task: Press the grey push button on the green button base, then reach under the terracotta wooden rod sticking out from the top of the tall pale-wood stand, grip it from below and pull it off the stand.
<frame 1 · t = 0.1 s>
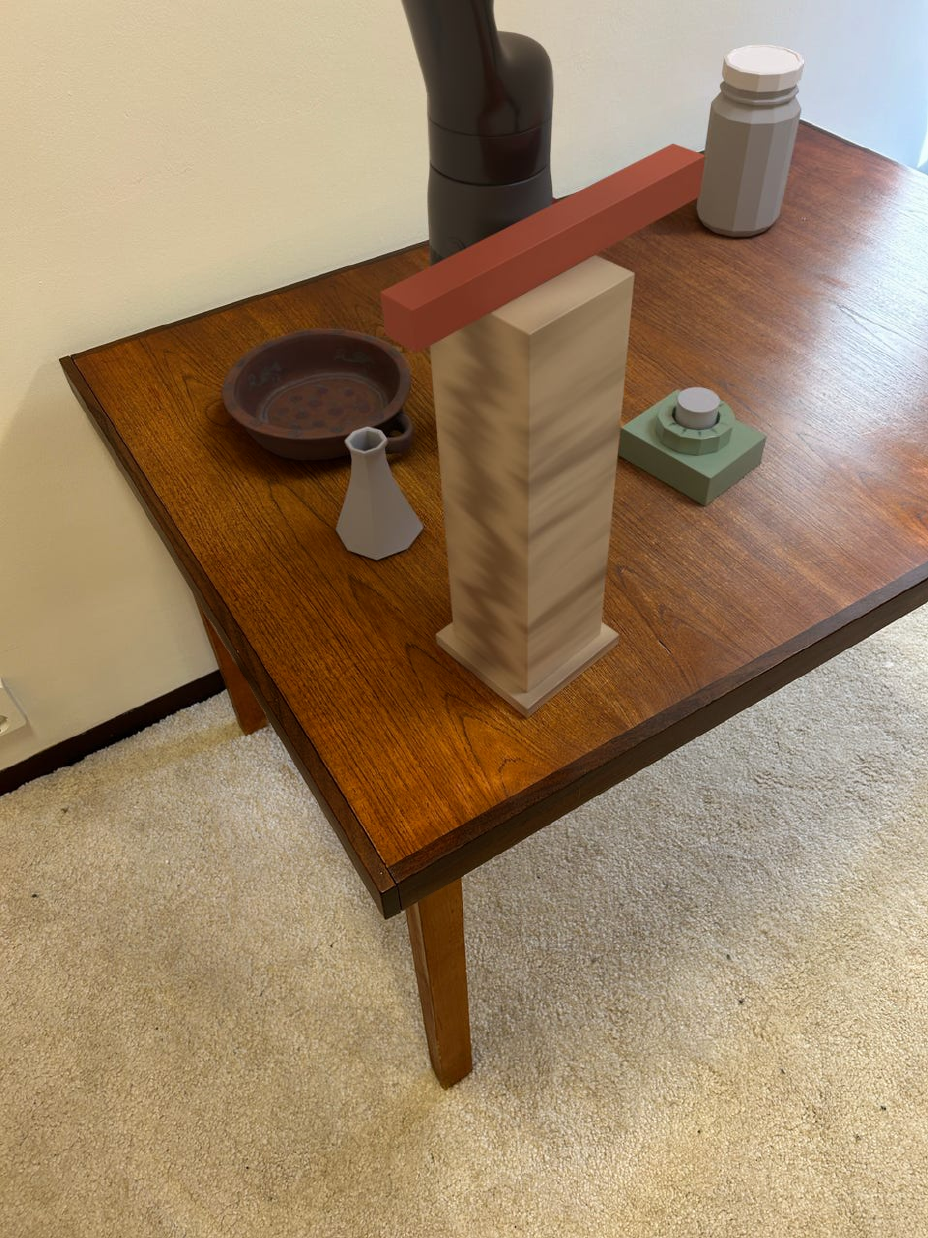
hand: (489, 437, 72), 13 cm above the table, tool pointing down, fingers open, 8 cm apart
apple: (537, 262, 113), on the table
green button base: (688, 459, 88), on the table
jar: (735, 222, 117), on the table
grey push button: (697, 408, 84), point 6 cm above the table, slide at 0.1 cm
rod: (554, 260, 52), point 31 cm above the table, touching stand
flask: (380, 532, 84), on the table
dish: (324, 422, 95), on the table
stand: (526, 644, 75), on the table
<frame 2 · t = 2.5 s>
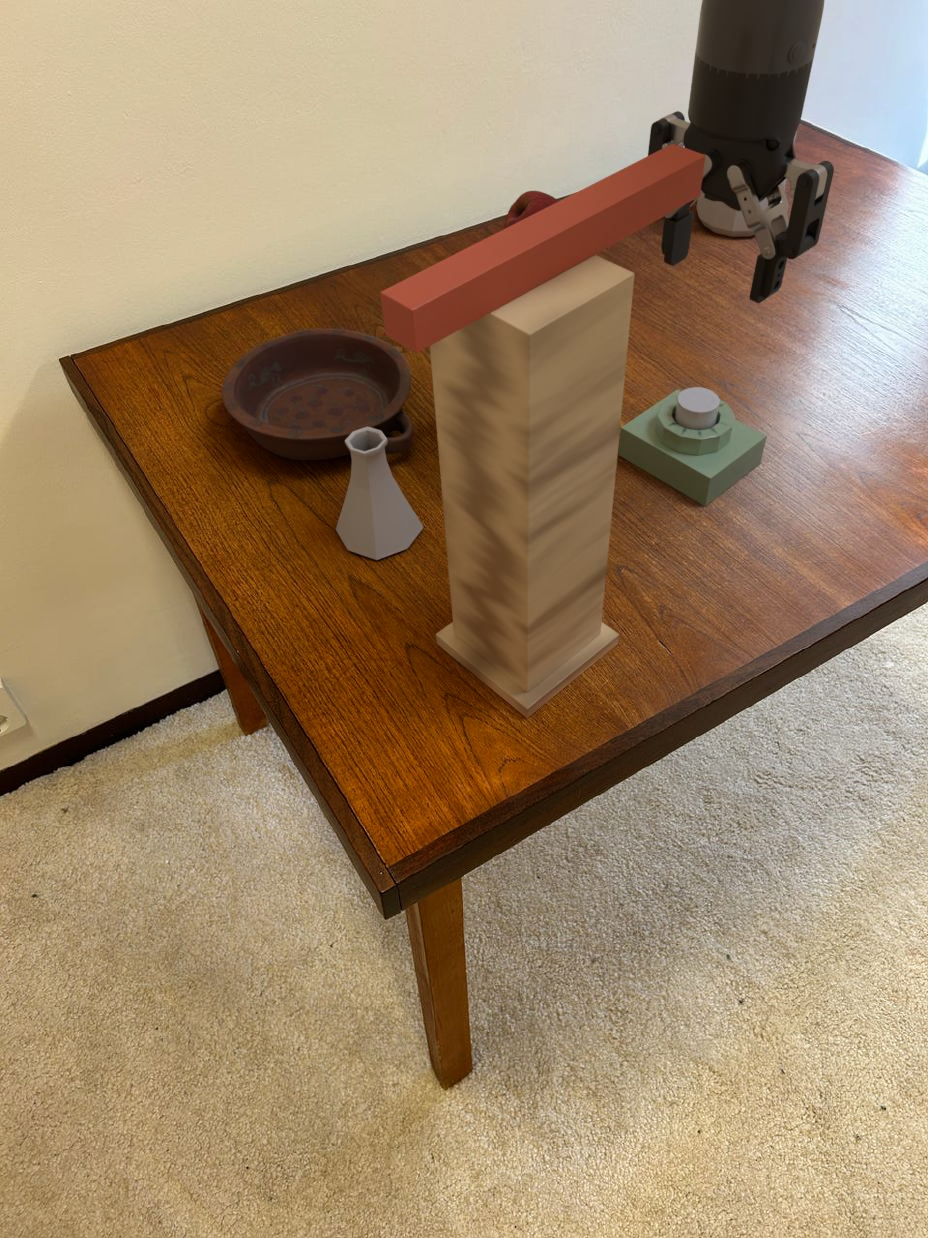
hand: (716, 278, 75), 18 cm above the table, tool pointing down, fingers open, 7 cm apart
nothing on the table moved.
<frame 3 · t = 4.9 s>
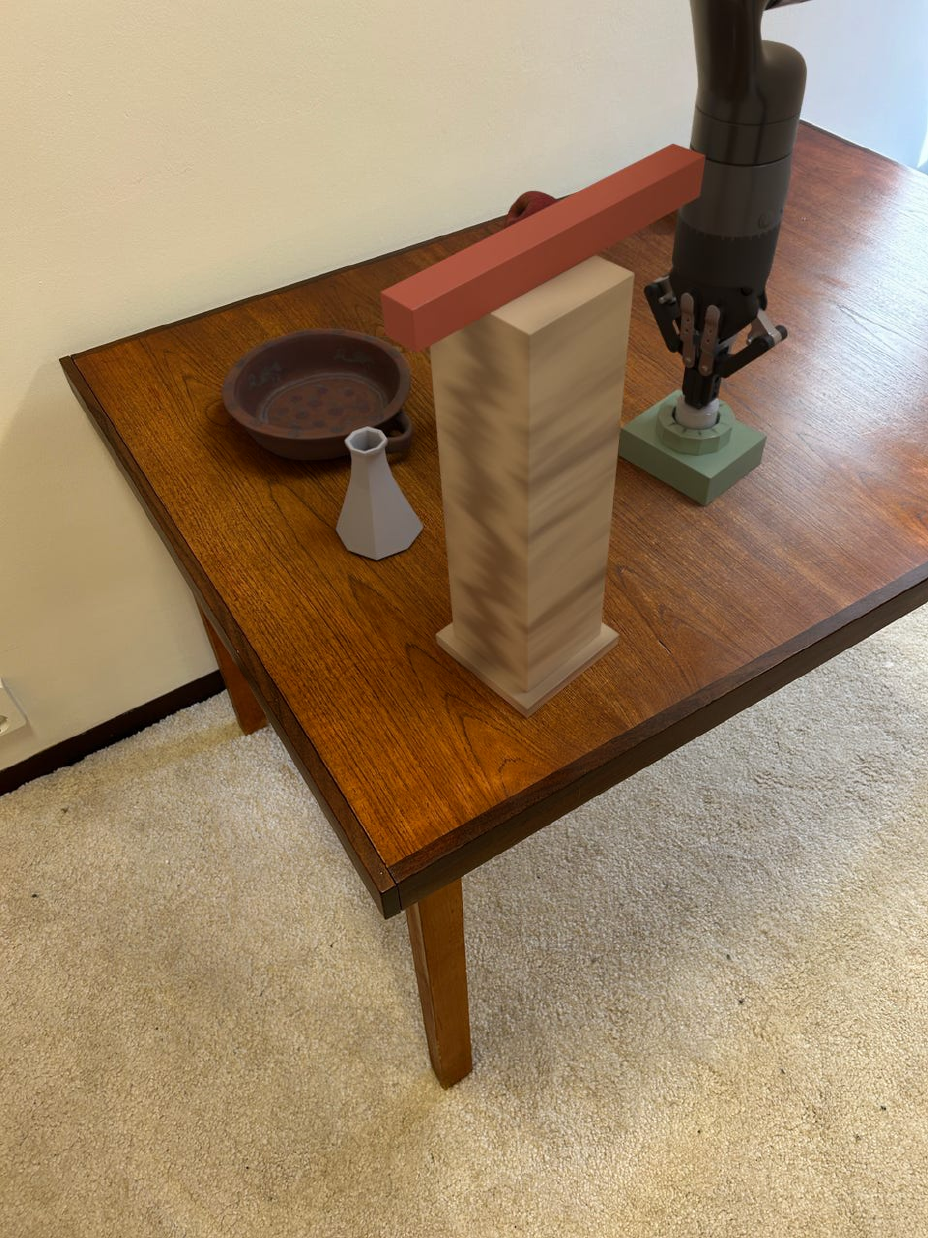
hand: (697, 402, 84), 6 cm above the table, tool pointing down, fingers closed
grey push button: (696, 412, 84), point 5 cm above the table, slide at -0.2 cm, touching gripper
everything else where it was.
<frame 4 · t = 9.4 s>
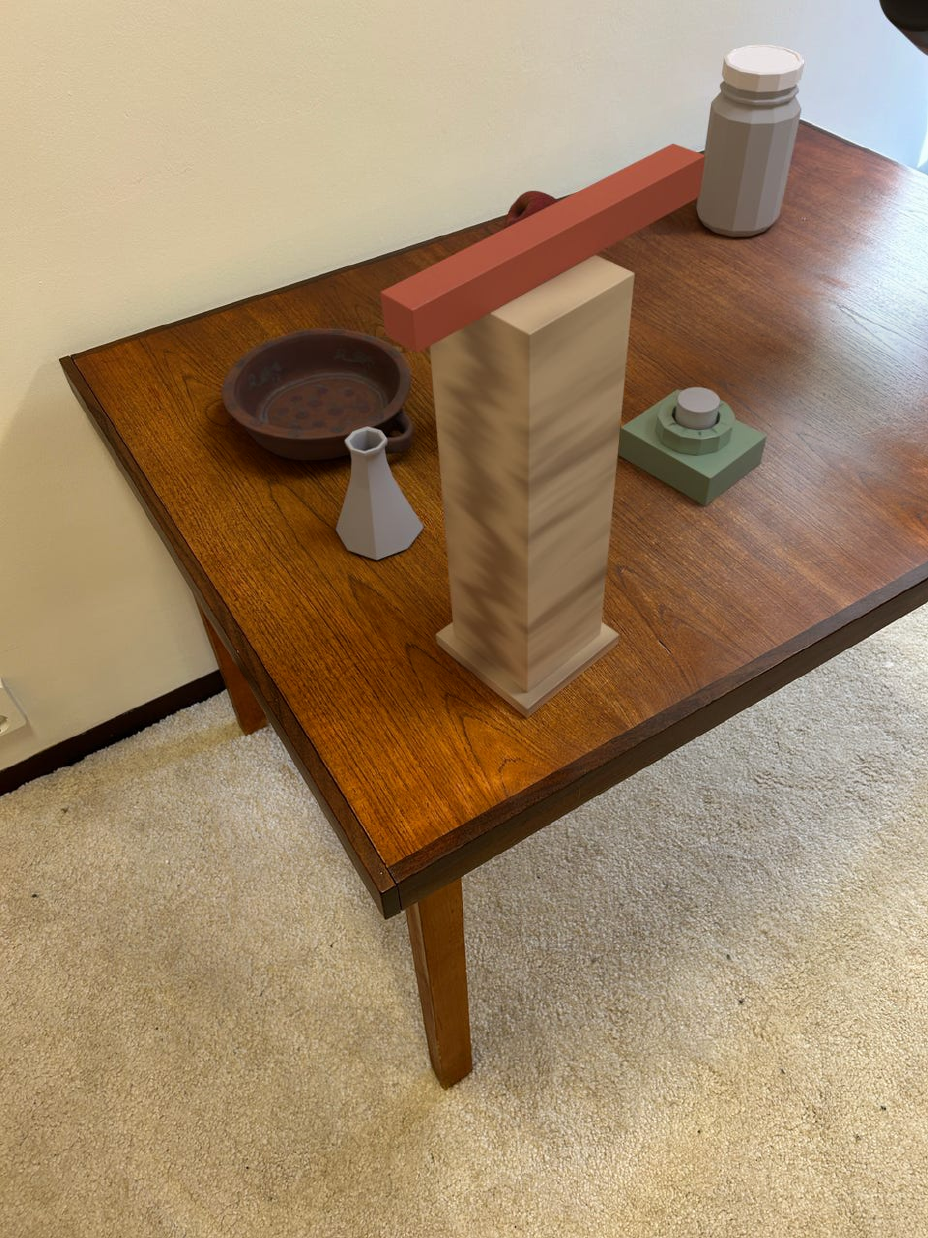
grey push button: (697, 408, 84), point 6 cm above the table, slide at 0.1 cm
everything else where it was.
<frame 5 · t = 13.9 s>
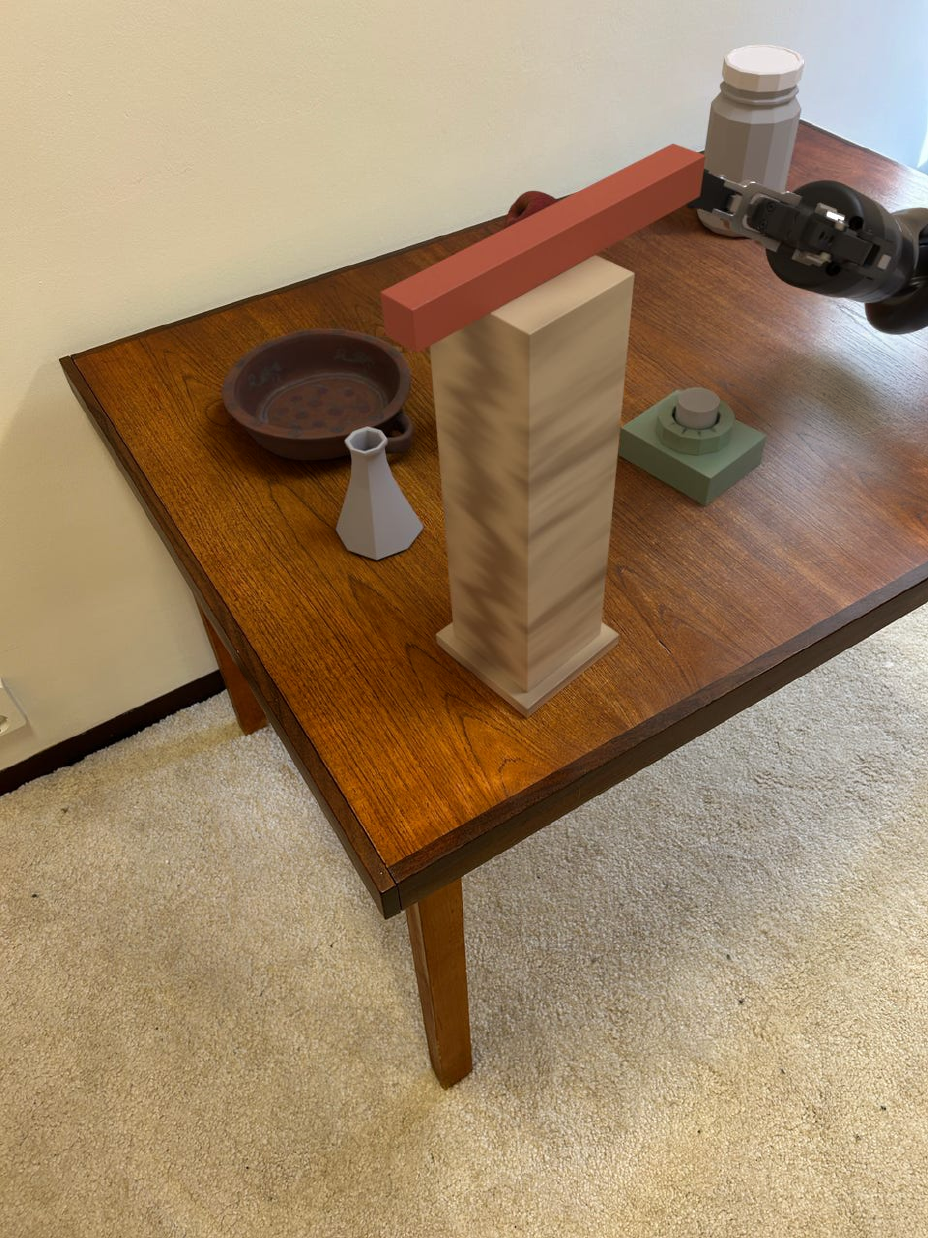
hand: (741, 205, 62), 28 cm above the table, tool pointing upward, fingers open, 8 cm apart
nothing on the table moved.
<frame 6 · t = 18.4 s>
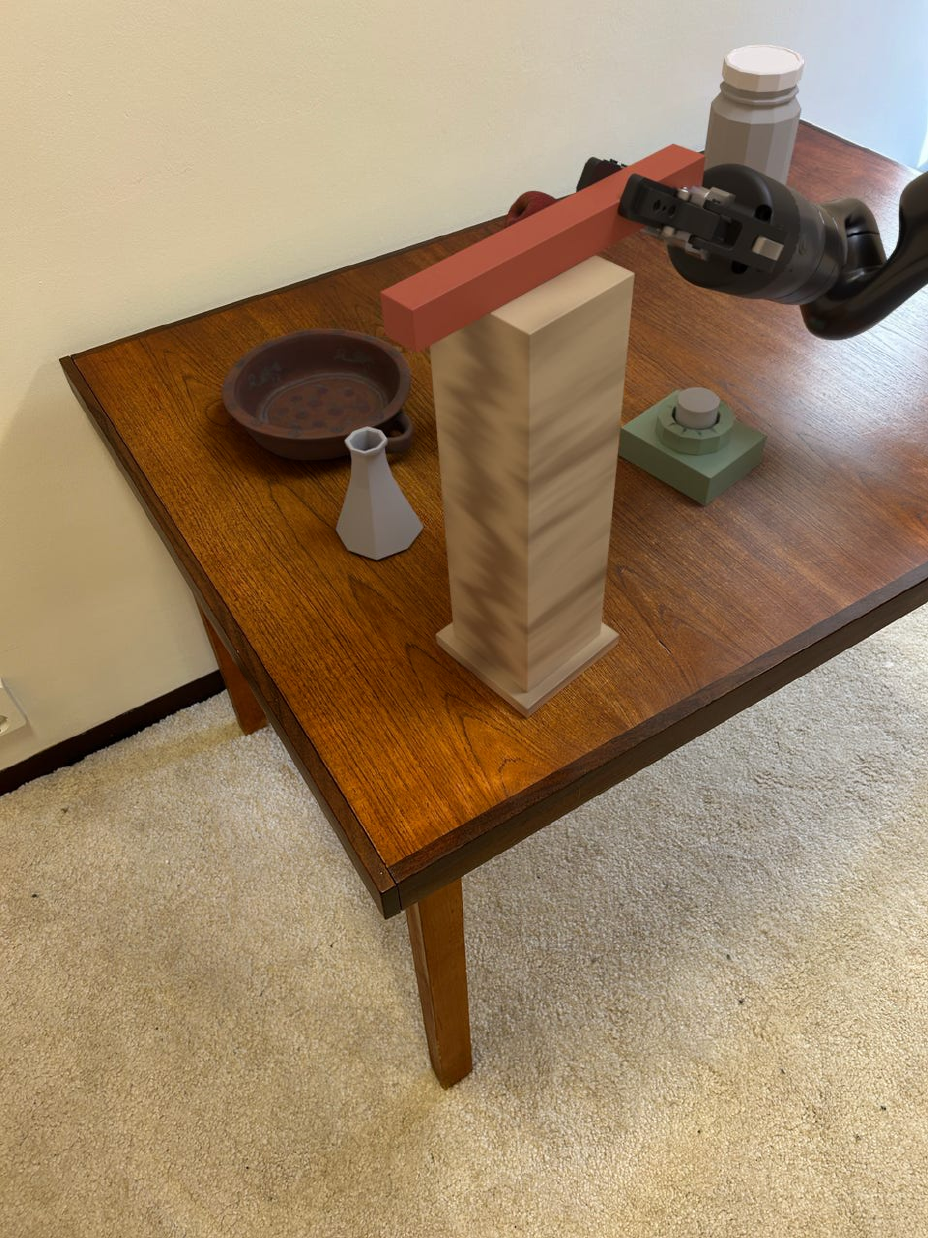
hand: (606, 186, 52), 34 cm above the table, tool pointing upward, fingers closed on rod, 2 cm apart
rod: (554, 260, 52), point 31 cm above the table, touching gripper, stand
everything else where it was.
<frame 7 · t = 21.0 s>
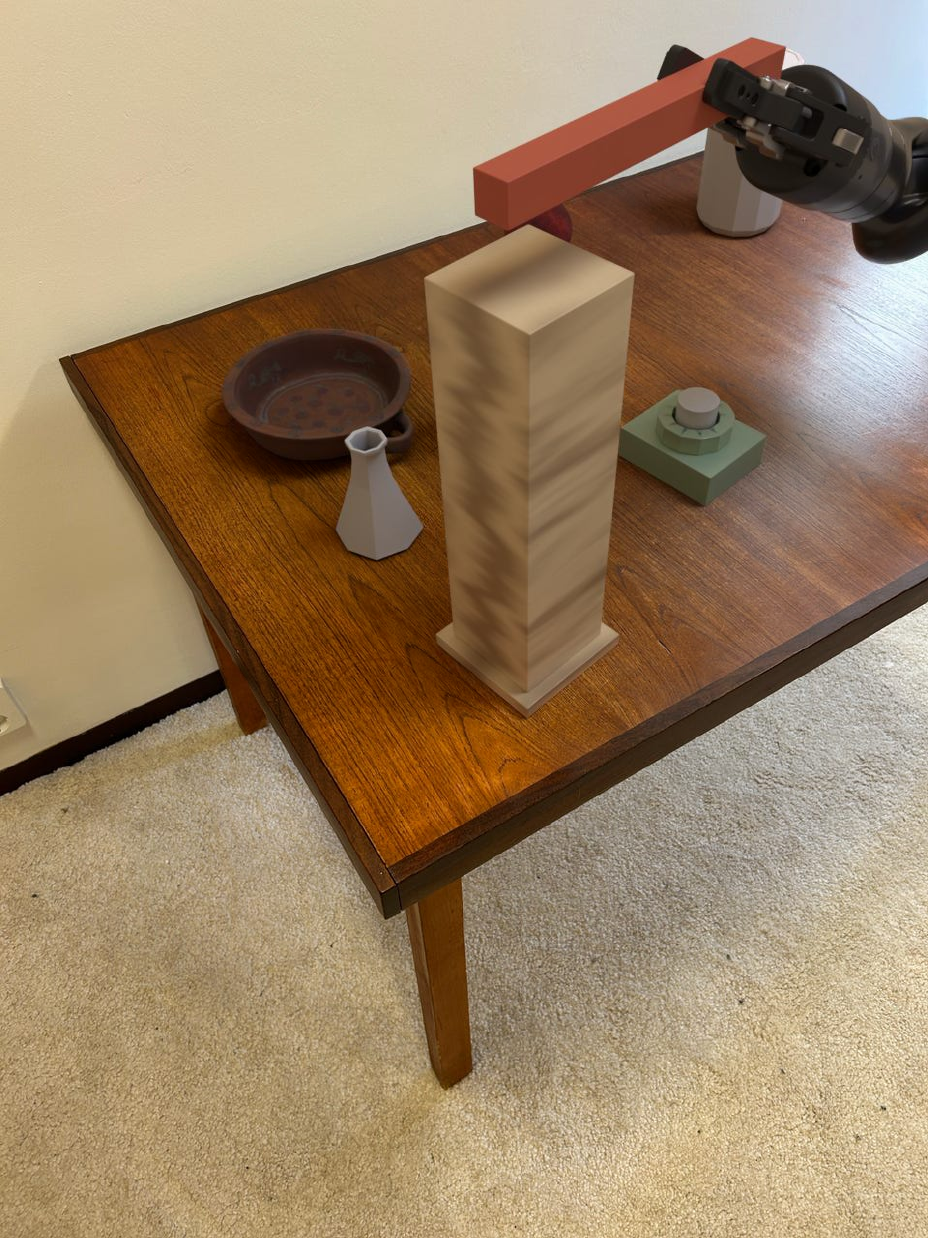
hand: (690, 72, 52), 38 cm above the table, tool pointing upward, fingers closed on rod, 2 cm apart
rod: (637, 148, 52), point 35 cm above the table, touching gripper
everything else where it was.
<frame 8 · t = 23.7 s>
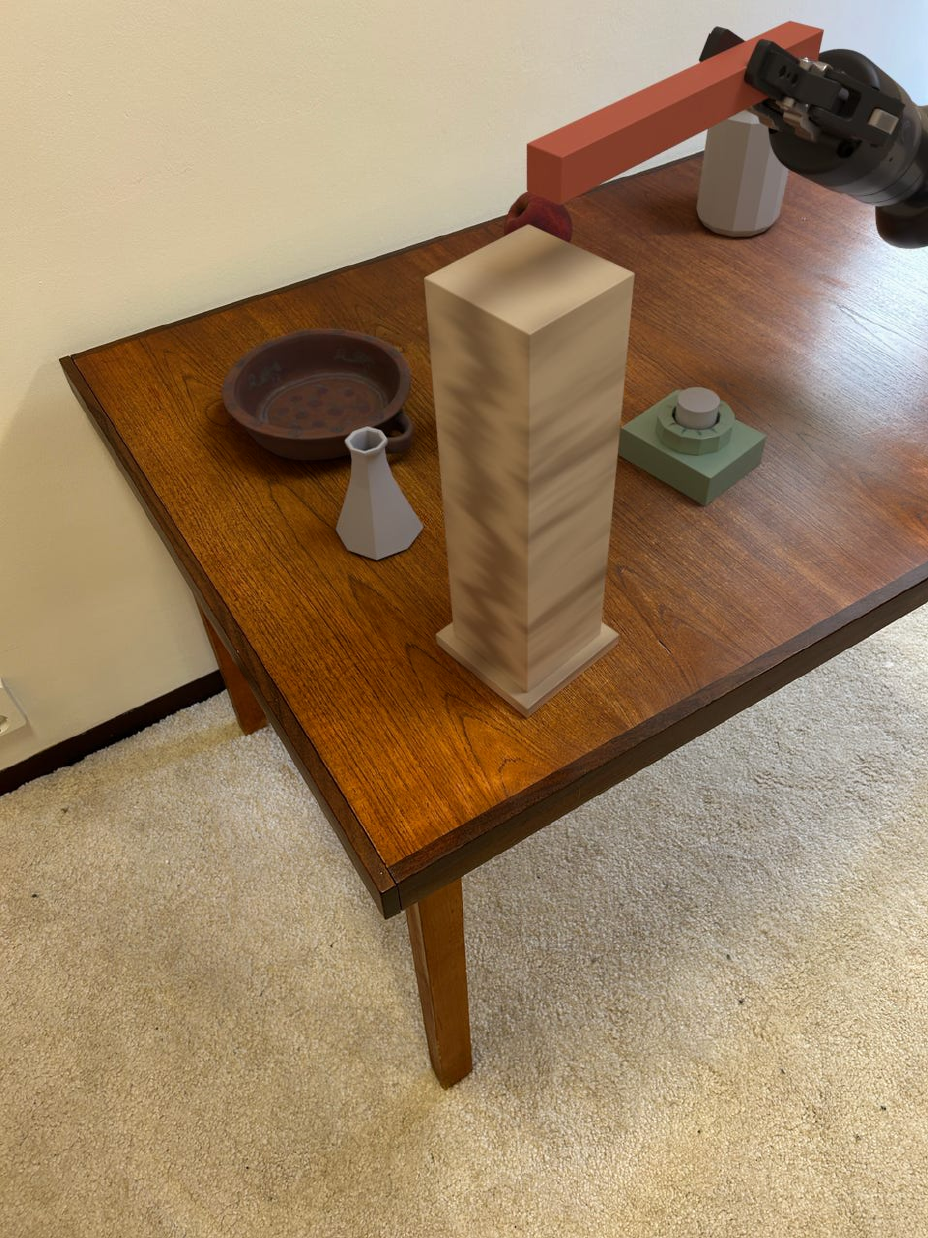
hand: (733, 53, 53), 38 cm above the table, tool pointing upward, fingers closed on rod, 2 cm apart
rod: (681, 128, 54), point 35 cm above the table, touching gripper
everything else where it was.
at the end: grey push button pushed in 1.1 cm at the most during the clip, back to where it started at the end; the gripper is holding rod; rod moved 10.7 cm from its start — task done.
